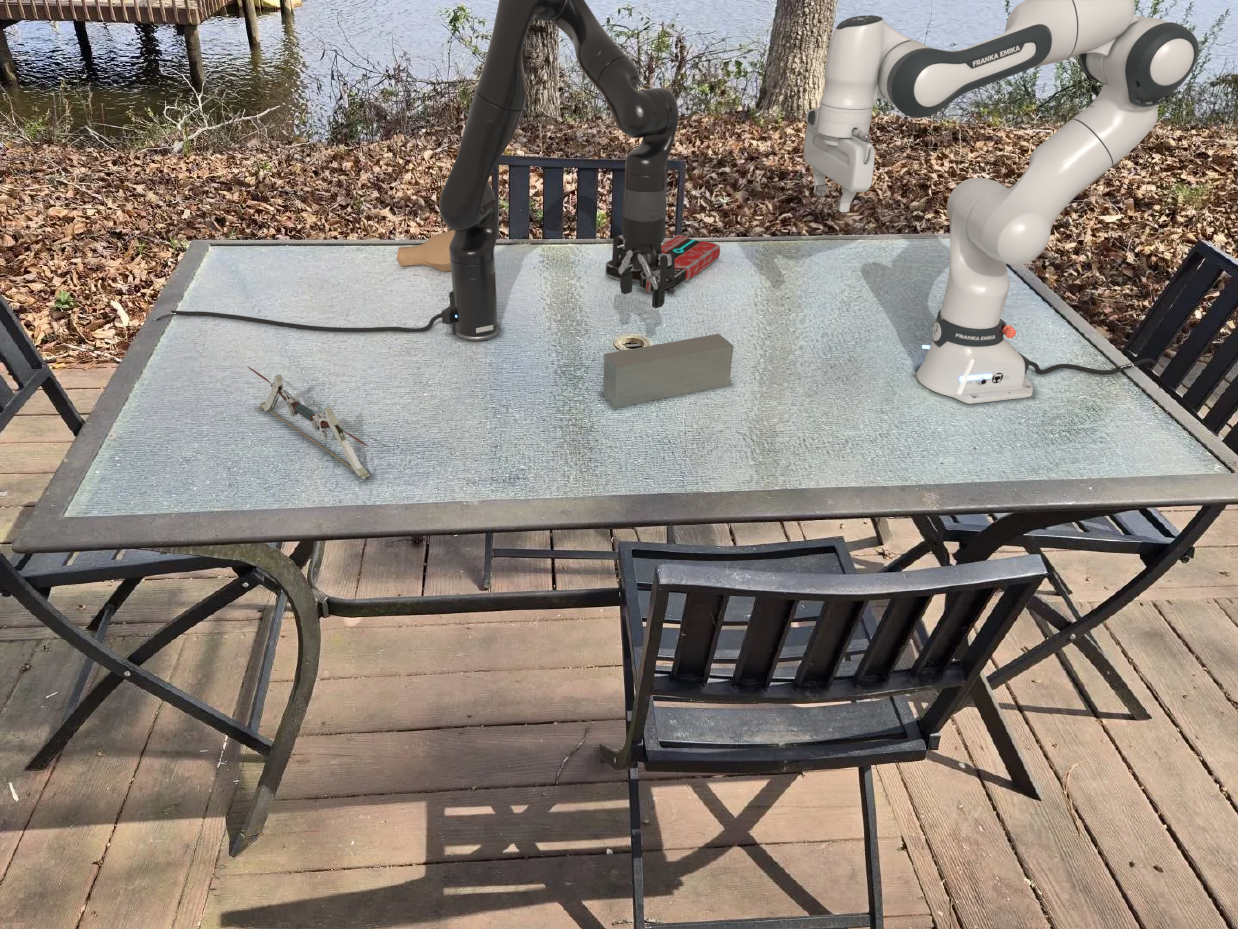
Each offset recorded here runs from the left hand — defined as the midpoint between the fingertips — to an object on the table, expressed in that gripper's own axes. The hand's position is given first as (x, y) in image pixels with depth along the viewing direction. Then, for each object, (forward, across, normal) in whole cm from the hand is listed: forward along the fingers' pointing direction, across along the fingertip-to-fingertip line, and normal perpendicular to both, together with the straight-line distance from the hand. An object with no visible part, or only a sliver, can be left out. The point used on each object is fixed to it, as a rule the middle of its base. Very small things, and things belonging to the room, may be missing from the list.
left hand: (641, 299), depth 161 cm
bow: (+19, +22, +57) cm, 64 cm away
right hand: (-17, -18, -29) cm, 38 cm away
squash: (+19, +81, -3) cm, 83 cm away
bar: (+19, -3, -5) cm, 20 cm away
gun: (+19, +44, -48) cm, 68 cm away
